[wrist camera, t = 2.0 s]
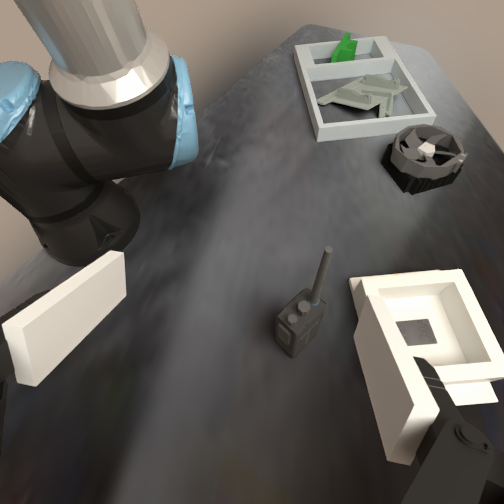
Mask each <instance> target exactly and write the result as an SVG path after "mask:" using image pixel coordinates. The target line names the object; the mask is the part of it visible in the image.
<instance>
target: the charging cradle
mask: <svg viewBox="0 0 504 504" xmlns="http://www.w3.org/2000/svg"><path fill="white" fill-rule="evenodd" d="M349 285H350V289H351V293H352V296H353V300H354V304H355V308H356V311H357V315H358V319H359V318H360V315H361V312H362V309H363V306H364V303H365V300H366V297H367V294H368V295H374V296H379V297H383V299H384V301H385V303H386V305H387V307H388V309H389V311H390V313H391V315H392V317H393V319H394V321H395V323H396V325H397V327H398V329H399V331H400V333H401V335H402V337H403V339H404V340H405V342H406V344H407V346H408V348H409V350H410V352H411V354H412V356H415V357H420V358H424V359H425V360H426V361H427V362H428V363H429V364H431V365H432V366H433V367H434V368H435V370H436V372H437V374H438V375H439V377H440V379H441V380H440V381H442V382H443V384H444V386H445V389H446V390H447V391H448V393H449V395H450V396H451V398H452V400H453V402H454V403H455V405H456V406H458V405H470V404H482V403H493V402H498V400H497V398H496V395H495V393H494V391H493V389H492V386H491V384H490V381H495V380H499V379H503V378H504V354H503V352H502V350H501V348H500V346H499V344H498V342H497V340H496V338H495V336H494V334H493V332H492V330H491V328H490V326H489V324H488V322H487V320H486V318H485V316H484V314H483V312H482V310H481V308H480V305H479V303H478V301H477V299H476V297H475V295H474V293H473V291H472V289H471V287H470V285H469V283H468V281H467V279H466V277H465V275H464V273H463V271H462V269H457V270H447V271H440V270H432V271H421V272H410V273H399V274H389V275H378V276H367V277H357V278H350V279H349Z"/></svg>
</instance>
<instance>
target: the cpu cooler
mask: <svg viewBox="0 0 504 504" xmlns="http://www.w3.org/2000/svg"><path fill="white" fill-rule="evenodd" d="M467 155H468V153H466V152H465V151H464V149H463V146H462V143H461V140H460V138H458V137H457V136H455V135H453V134H452V133H450V132H448V131H447V130H445V129H443V128H442V127H438V126H432V125H427V124H420V125H413V126H408V127H406V128H405V129H403V130H401V131H400V132H398V133H397V135H396V138H395V140H394V142H393V143H392V144H388V146H387V149H386V151H385V154H384V156H383V159H382V161H381V164H382V165H383V167H384V168H385V169H386V170H387V171H388V173H389V174H390V176H391V177H392V178H393V179H394V181H395V182H396V184H398V186H399V187H400V189H402V190H403V193H405V192H408V191H409V192H410V193H411V195H414V194H415V193H420V192H424V191H427V190H430V189H435V188H438V187H440V186H445V185H448V184H451V183H453V181H454V180H455V178H456V177H457V176H458V174H459V173H460V171H461V170H462V169H461V167H462V166H463V161H464V160H465V158H466V156H467Z"/></svg>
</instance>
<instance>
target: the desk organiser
mask: <svg viewBox="0 0 504 504" xmlns="http://www.w3.org/2000/svg"><path fill="white" fill-rule="evenodd" d="M351 40H356V41H358V43H357V48H356V52H355V55H360V54H369V53H370V54H371V56H372V59H363V60H354V61H344V62H336V63H326V64H316V65H315V64H314V61H313V60H314V59H323V58H331V57H332V54H333V53H334V51H335V49H336V48H337V46H338V45H339V43H340V42H341V41H332V42H323V43H314V44H305V45H296V46H295V51H294V61H295V65H296V68H297V72H298V75H299V79H300V82H301V86H302V90H303V93H304V97H305V100H306V104H307V108H308V111H309V115H310V118H311V122H312V126H313V129H314V133H315V136H316V140H317V142H321V141H331V140H340V139H350V138H360V137H370V136H379V135H389V134H397V133H398V132H400V131H401V130H403V129H405V128H406V127H408V126H413V125H420V124H427V125H432V124H433V122H434V120H435V118H436V114H435V113H434V111H433V110H432V108H431V106H430V105H429V103H428V102H427V100H426V99H425V97H424V95H423V94H422V92H421V91H420V89H419V88H418V86H417V84H416V83H415V81H414V80H413V78H412V77H411V75H410V73H409V72H408V70H407V69H406V67H405V65H404V64H403V62H402V61H401V59H400V58H399V56H398V54H397V53H396V51H395V50H394V48H393V47H392V45H391V43H390V42H389V40H388V39H387V37H386V36H378V37H369V38H360V39H351ZM386 73H391V75H392V77H393V78H394V79H399V81H400V82H399V85H402V86H407V87H408V88H407V89H405V90H403V91H401V92H402V94H403V96H404V97H405V99H406V101H407V103H408V104H409V106H410V108H411V110H412V111H413V113H414V115H405V116H396V117H386V118H376V119H367V120H357V121H348V122H338V123H328V124H323V121H322V117H321V114H320V111H319V108H318V105H317V101H316V98H315V95H314V92H313V88H312V85H311V81H320V80H330V79H339V78H348V77H358V76H364V75H366V74H369V75H377V74H386Z"/></svg>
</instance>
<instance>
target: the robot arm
mask: <svg viewBox="0 0 504 504" xmlns="http://www.w3.org/2000/svg"><path fill="white" fill-rule="evenodd" d="M14 1H15V3H16V4H17V6H18V8H19V9H20V10H21V12H22V13H23V15H24V16H25V18H26V19H27V21H28V22H29V24H30V25H31V27H32V28H33V30H34V31H35V33H36V34H37V35H38V37H39V39H40V40H41V42H42V43H43V44H44V46H45V47H46V49H47V51H48V52H49V54H50V55H51V57H52V60H51V63H50V67H49V80H45V81H44V80H41V78H40V77H41V76H40V75H39V73H38V72H37V71H36V70H34V69H33V68H32V67H31V66H30V65H28V64H27V63H23V62H17V61H8V62H3V63H0V196H1V197H2V198H4V199H5V200H6V201H7V202H8V203H10V204H11V205H12V206H13V207H14V208H16V209H17V210H18V211H19V212H21V213H22V214H23V215H24V216H25V217H26V218H27V219H29V221H30V223H31V225H32V227H33V229H34V231H35V233H36V235H37V236H38V238H39V240H40V243H41V245H42V246H43V248H44V249H45V250H46V251H47V252H48V253H49V254H50V255H51V256H53V257H54V258H55V259H57V260H58V261H60V262H61V263H64V264H66V265H71V266H87V267H85V268H84V269H82V270H81V271H79V272H78V273H76V274H75V275H74V276H72V277H71V278H69V279H68V280H66V281H65V282H63V283H62V284H60V285H59V286H57V287H56V288H54V289H53V290H46V291H44V292H41V293H38V294H36V295H34V296H32V297H31V298H29V299H28V300H26V301H25V303H22V304H20V305H19V306H17V307H16V309H15V308H14V309H13V310H11V311H9V312H8V313H6V314H5V315H3V316H2V317H0V454H1V444H2V434H3V424H4V414H5V404H6V395H7V382H6V378H7V377H8V376H9V375H10V374H12V373H13V372H15V376H16V379H17V383H21V384H26V385H30V386H35V387H36V386H37V385H38V384H39V383H40V382H41V381H42V380H43V379H44V378H45V377H46V376H47V375H48V374H49V373H50V372H51V371H52V370H53V369H54V368H55V367H56V366H57V365H58V364H59V363H60V362H61V361H62V360H63V359H64V358H65V357H66V356H67V355H68V354H69V353H70V352H71V351H72V350H73V349H74V348H75V347H76V346H77V345H78V344H79V343H80V342H81V341H82V340H83V339H84V338H85V337H86V336H87V335H88V334H89V333H90V332H91V331H92V330H93V329H94V328H95V327H96V326H97V325H98V324H99V323H100V322H101V321H102V320H103V319H104V318H105V317H106V316H107V315H108V314H109V313H110V312H111V310H112V309H113V308H114V307H115V306H116V305H117V304H118V303H119V302H120V301H121V300H122V299H123V298H124V297H125V296H126V282H125V265H124V253H123V252H120V251H121V250H122V249H123V248H124V247H125V246H126V245H127V244H128V243H129V242H130V241H131V239H132V238H133V237H134V235H135V233H136V231H137V229H138V226H139V222H140V212H139V209H138V206H137V204H136V203H135V201H134V199H133V198H132V196H131V195H130V194H129V193H128V192H127V191H126V190H125V189H124V188H122V187H121V186H119V185H117V184H116V183H115V182H113V181H112V180H114V179H120V178H125V177H131V176H136V175H142V174H147V173H152V172H158V171H163V170H171V169H173V168H174V167H177V166H181V165H185V164H188V163H191V162H193V161H194V160H195V159H196V157H197V155H198V150H199V146H198V133H197V124H196V117H195V112H194V104H193V96H192V90H191V83H190V78H189V73H188V68H187V64H186V61H185V60H184V58H182V57H176V56H174V55H172V56H170V55H169V51H168V48H167V46H166V44H165V42H164V40H163V39H162V38H161V37H160V36H159V35H158V34H157V33H156V32H154V31H153V30H151V29H149V28H147V27H145V26H144V25H143V22H142V19H141V16H140V14H139V11H138V8H137V5H136V2H135V0H14ZM354 341H355V344H356V348H357V352H358V355H359V359H360V363H361V366H362V370H363V374H364V377H365V381H366V384H367V388H368V392H369V395H370V399H371V403H372V406H373V410H374V413H375V417H376V421H377V424H378V428H379V432H380V435H381V439H382V442H383V446H384V450H385V453H386V457H387V461H392V462H396V463H401V464H406V465H410V464H411V463H412V461H413V459H414V457H415V455H417V458H418V461H419V464H420V466H421V467H420V469H419V471H418V473H417V474H416V476H415V478H414V480H413V481H412V483H411V485H410V487H409V489H408V490H407V492H406V494H405V496H404V498H403V499H402V501H401V503H400V504H504V453H503V452H501V451H499V450H497V449H495V448H493V446H492V444H491V442H490V441H489V440H488V439H487V437H486V436H485V435H484V434H483V433H482V432H481V431H479V430H478V429H477V428H476V427H474V426H473V425H471V424H469V423H467V422H465V421H464V419H463V417H462V416H461V414H460V412H459V410H458V409H457V407H456V405H455V403H454V402H453V400H452V398H451V396H450V395H449V393H448V391H447V390H446V389H445V386H444V384H443V382H442V381H440V380H441V379H440V377H439V375H438V374H437V372H436V370H435V368H434V367H433V366H432V365H431V364H429V363H428V362H427V361H426V360H425V359H424V358H420V357H415V356H412V354H411V352H410V350H409V348H408V346H407V344H406V342H405V340H404V339H403V337H402V335H401V333H400V331H399V329H398V327H397V325H396V323H395V321H394V319H393V317H392V315H391V313H390V311H389V309H388V307H387V305H386V303H385V301H384V299H383V297H379V296H374V295H368V294H367V297H366V300H365V303H364V306H363V309H362V312H361V315H360V318H359V321H358V324H357V327H356V331H355V334H354Z"/></svg>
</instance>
